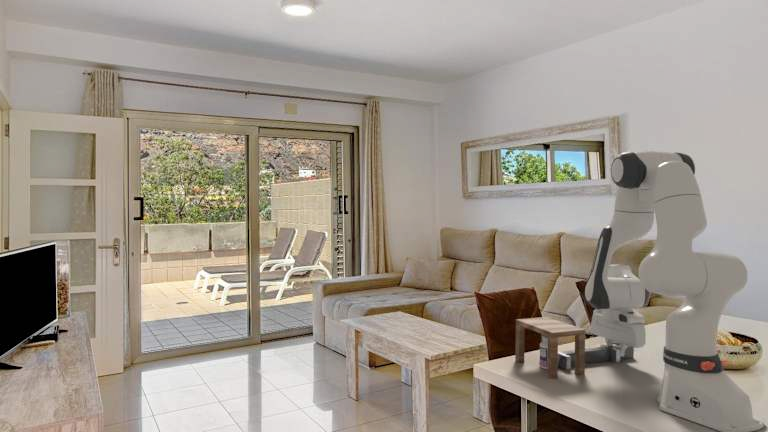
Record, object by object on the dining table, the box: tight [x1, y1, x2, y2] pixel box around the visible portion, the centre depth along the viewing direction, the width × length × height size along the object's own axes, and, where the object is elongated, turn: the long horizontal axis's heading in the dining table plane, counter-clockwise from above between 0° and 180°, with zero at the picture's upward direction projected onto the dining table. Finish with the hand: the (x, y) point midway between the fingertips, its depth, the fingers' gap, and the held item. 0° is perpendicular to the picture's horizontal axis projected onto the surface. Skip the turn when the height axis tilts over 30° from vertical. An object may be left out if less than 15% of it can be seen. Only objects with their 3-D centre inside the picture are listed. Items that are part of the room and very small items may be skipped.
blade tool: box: [558, 344, 635, 371], centre depth 162 cm, size 8×30×4 cm, turn 109°
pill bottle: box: [539, 335, 559, 370], centre depth 156 cm, size 5×5×10 cm
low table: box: [514, 316, 586, 380], centre depth 156 cm, size 18×12×14 cm, turn 20°
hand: (616, 354), depth 165 cm, fingers closed on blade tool, 2 cm apart
